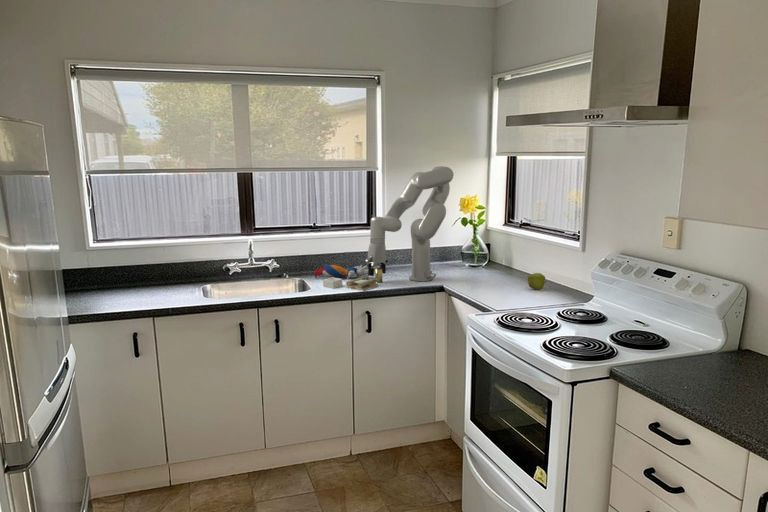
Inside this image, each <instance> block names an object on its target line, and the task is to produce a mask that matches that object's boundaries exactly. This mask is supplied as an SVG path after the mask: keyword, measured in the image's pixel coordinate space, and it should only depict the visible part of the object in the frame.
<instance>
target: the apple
mask: <svg viewBox="0 0 768 512" xmlns="http://www.w3.org/2000/svg"><path fill="white" fill-rule="evenodd" d="M547 282H548V281H547V280H546V277H545V275H544V274H542V273H540V272H534V273H532V274H530V275H528V277H527V284H528V286H529V288H530V289H533V290H537V291H539V290H542V289H543V288H544V285H545V283H547Z"/></svg>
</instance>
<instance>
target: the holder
mask: <svg viewBox="0 0 768 512" xmlns="http://www.w3.org/2000/svg"><path fill="white" fill-rule="evenodd" d="M322 286H323V288H330V289H336V287H337V288H339V286H340V287H342V286H343V278H335V277H333V276H331V277H329V278H325V279H322Z"/></svg>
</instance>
